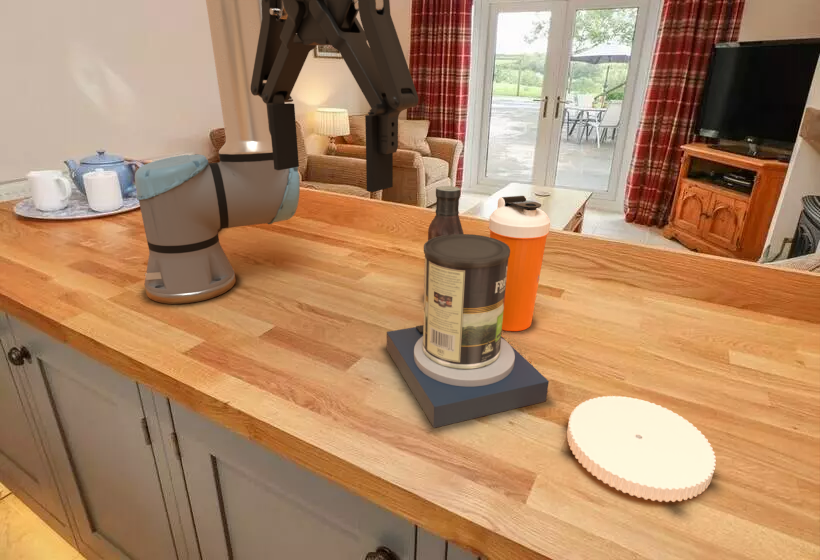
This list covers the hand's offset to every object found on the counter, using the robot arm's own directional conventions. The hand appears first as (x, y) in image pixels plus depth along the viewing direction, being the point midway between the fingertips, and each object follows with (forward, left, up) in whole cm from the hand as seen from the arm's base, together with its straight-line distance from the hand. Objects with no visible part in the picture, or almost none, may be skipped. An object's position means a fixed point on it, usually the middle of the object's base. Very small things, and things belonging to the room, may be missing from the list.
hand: (329, 178), depth 49 cm
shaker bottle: (-12, +30, -28) cm, 43 cm away
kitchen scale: (-1, +16, -27) cm, 32 cm away
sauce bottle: (-23, +23, -28) cm, 43 cm away
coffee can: (-1, +16, -24) cm, 29 cm away
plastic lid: (+19, +27, -28) cm, 43 cm away
